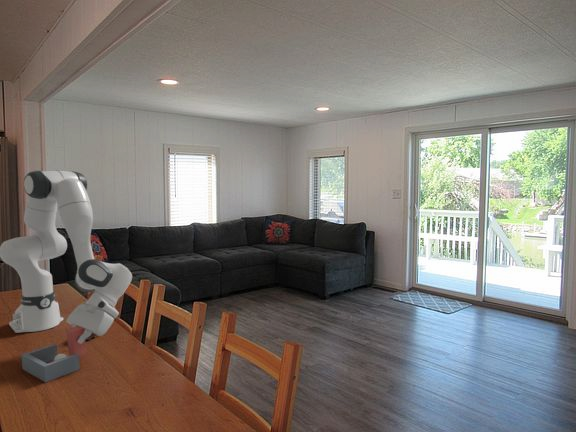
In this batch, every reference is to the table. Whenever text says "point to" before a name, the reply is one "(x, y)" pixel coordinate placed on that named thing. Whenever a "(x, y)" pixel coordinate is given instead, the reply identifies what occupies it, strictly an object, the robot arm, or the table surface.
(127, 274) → the robot arm
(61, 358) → the ball
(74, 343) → the red tall block
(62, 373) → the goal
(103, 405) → the table surface
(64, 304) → the table surface
